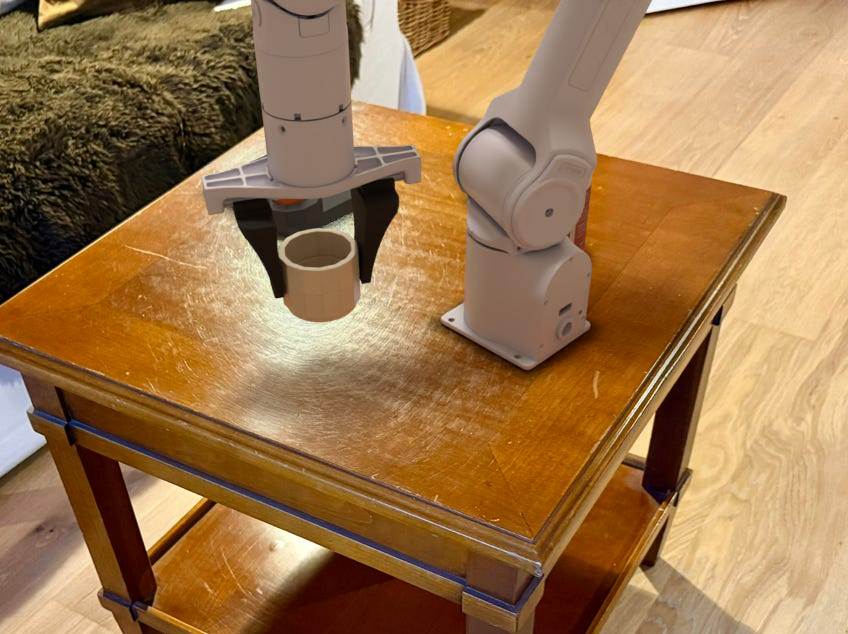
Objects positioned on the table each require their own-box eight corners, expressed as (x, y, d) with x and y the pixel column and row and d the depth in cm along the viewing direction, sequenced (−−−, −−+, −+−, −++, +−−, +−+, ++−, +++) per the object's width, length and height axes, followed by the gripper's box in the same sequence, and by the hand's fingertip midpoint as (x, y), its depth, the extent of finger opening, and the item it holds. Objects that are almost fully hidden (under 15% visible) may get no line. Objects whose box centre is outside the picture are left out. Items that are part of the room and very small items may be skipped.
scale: (389, 195, 99) (389, 167, 97) (288, 247, 93) (285, 218, 91) (300, 152, 106) (297, 125, 104) (200, 197, 100) (196, 169, 98)
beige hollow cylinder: (376, 300, 74) (374, 247, 71) (318, 334, 71) (313, 280, 68) (325, 271, 77) (321, 219, 74) (267, 303, 74) (261, 250, 71)
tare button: (312, 198, 94) (311, 182, 93) (287, 210, 92) (285, 194, 91) (291, 187, 95) (289, 172, 94) (266, 199, 94) (264, 183, 93)
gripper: (400, 62, 68) (403, 239, 77) (185, 91, 66) (214, 270, 75) (430, 105, 63) (429, 289, 72) (197, 139, 61) (227, 324, 70)
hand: (321, 283), depth 73 cm, fingers closed on beige hollow cylinder, 6 cm apart
